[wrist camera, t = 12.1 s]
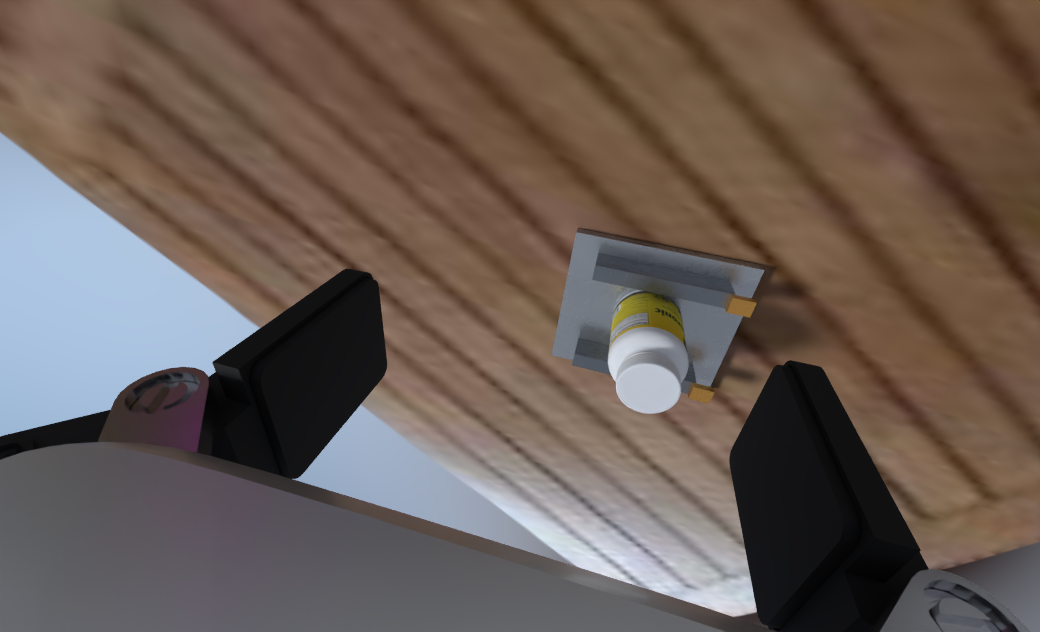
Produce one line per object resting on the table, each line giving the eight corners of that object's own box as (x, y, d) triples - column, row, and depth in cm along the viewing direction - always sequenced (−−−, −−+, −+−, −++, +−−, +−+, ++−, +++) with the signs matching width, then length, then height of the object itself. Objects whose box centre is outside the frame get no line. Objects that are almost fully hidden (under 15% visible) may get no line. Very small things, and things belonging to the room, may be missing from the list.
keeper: (761, 264, 32) (775, 288, 29) (705, 385, 38) (712, 417, 35) (577, 228, 34) (570, 246, 31) (553, 349, 40) (545, 375, 37)
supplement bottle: (692, 329, 35) (707, 409, 27) (631, 352, 37) (627, 432, 29) (663, 275, 33) (670, 342, 25) (601, 302, 36) (588, 372, 27)
